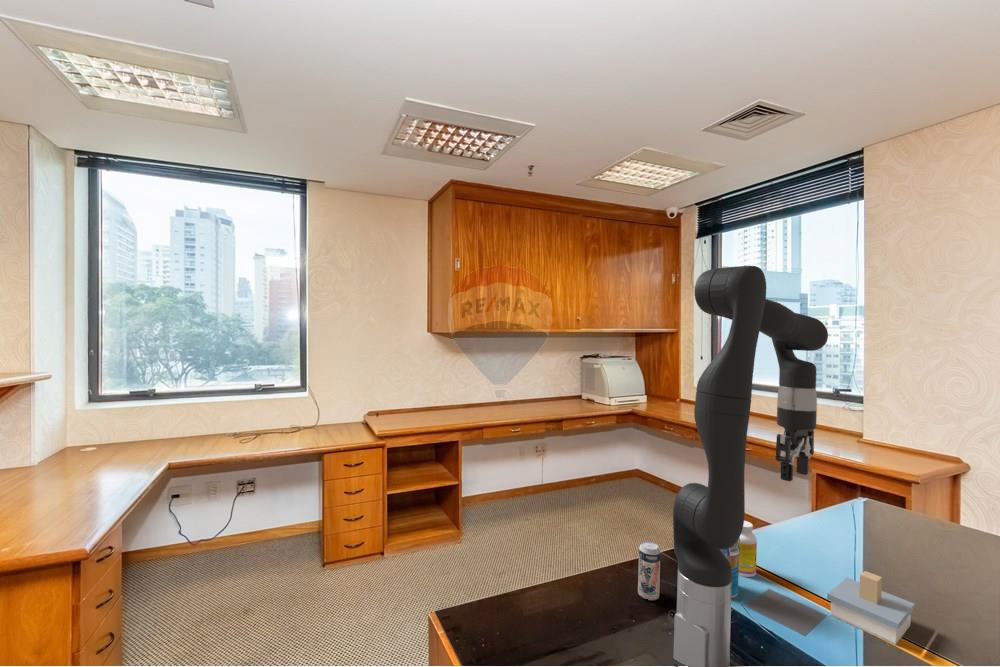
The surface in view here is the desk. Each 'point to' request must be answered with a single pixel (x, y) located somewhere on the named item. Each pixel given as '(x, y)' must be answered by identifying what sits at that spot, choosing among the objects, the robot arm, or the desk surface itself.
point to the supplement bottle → (747, 551)
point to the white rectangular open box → (869, 623)
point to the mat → (786, 611)
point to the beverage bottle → (733, 565)
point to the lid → (871, 600)
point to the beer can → (649, 571)
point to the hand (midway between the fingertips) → (794, 477)
